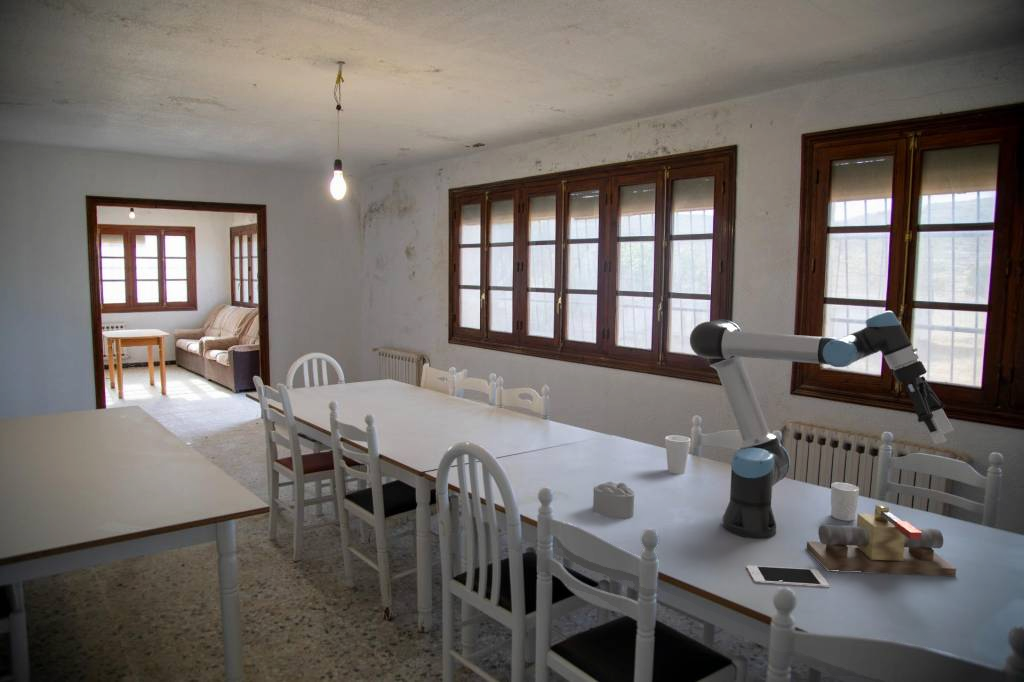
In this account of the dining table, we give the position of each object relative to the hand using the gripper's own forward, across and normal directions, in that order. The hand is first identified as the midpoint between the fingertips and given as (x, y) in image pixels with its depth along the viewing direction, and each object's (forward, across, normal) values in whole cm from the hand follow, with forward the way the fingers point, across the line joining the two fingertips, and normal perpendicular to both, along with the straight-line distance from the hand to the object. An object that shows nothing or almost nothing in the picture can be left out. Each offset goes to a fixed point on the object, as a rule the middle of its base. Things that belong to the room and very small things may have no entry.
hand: (945, 437), depth 174 cm
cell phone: (+16, -40, +39) cm, 59 cm away
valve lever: (+15, -20, +16) cm, 30 cm away
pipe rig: (+24, -14, +26) cm, 38 cm away
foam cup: (-13, +20, +93) cm, 96 cm away
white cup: (+17, +14, +40) cm, 45 cm away
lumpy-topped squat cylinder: (-12, -32, +88) cm, 94 cm away
